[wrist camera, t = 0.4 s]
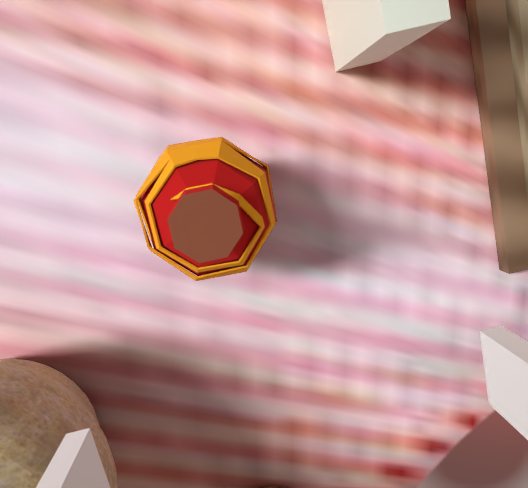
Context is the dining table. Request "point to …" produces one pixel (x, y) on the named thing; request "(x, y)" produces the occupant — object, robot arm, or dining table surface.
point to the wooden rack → (504, 118)
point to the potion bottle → (207, 208)
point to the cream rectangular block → (378, 27)
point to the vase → (41, 422)
